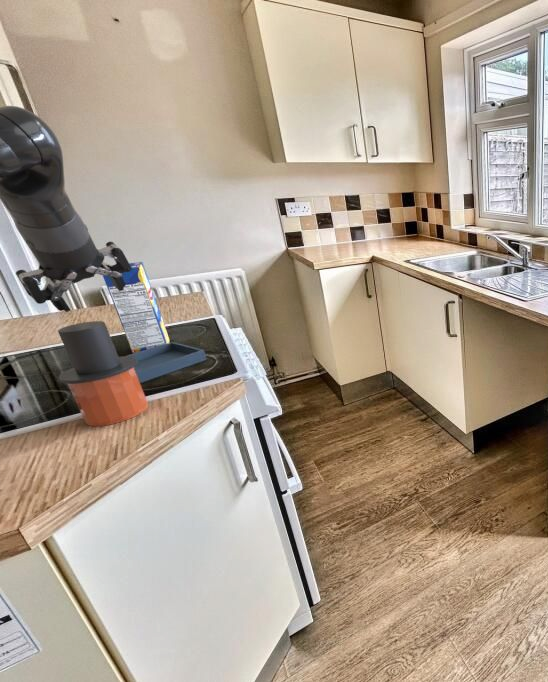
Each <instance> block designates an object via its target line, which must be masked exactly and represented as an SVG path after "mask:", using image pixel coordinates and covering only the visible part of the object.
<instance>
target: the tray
mask: <svg viewBox="0 0 548 682" xmlns="http://www.w3.org/2000/svg"><path fill="white" fill-rule="evenodd" d="M126 356H129V357H134V358H136V359H137V361H138V363H137V365H136V366H135V367H134V368H135V370H136V373H137V375H138V378H139V381H140V383H141V384H142V383H145V382H147V381H150V380H153V379H156V378H160V377H162V376H165V375H167V374H170V373H173V372H175V371H178V370H182V369H184V368H187V367H190V366H193V365H195V364H196V365H197V364H199V363H202V362H205V361H207V360H208V358H207V354H206V352H205V349H201V348H198V347H195V346H190V345H186V344H182V343H178V342H174V341H171V342H169V343H167V344H164V345H161V346H157V347H154V348H151V349H147V350H144V351H141V352H137V353H134V354H133V353H131V354H128V355H126Z"/></svg>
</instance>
